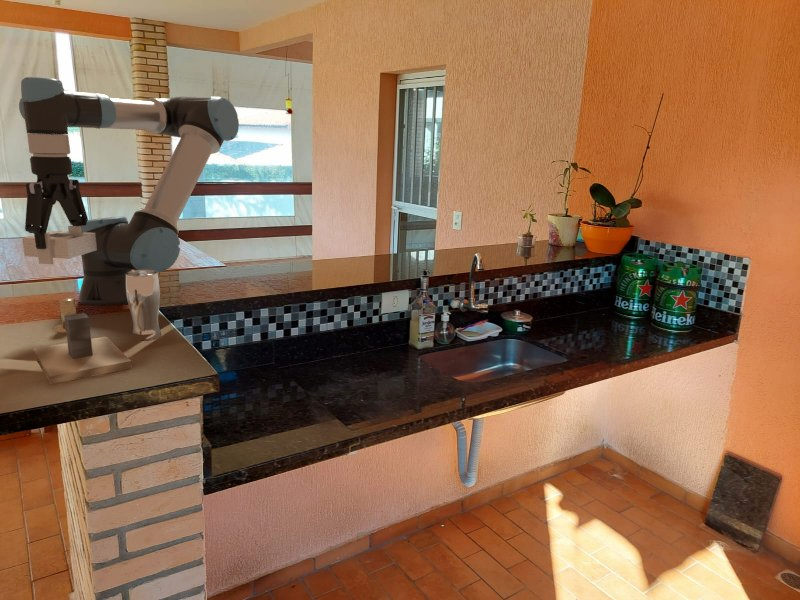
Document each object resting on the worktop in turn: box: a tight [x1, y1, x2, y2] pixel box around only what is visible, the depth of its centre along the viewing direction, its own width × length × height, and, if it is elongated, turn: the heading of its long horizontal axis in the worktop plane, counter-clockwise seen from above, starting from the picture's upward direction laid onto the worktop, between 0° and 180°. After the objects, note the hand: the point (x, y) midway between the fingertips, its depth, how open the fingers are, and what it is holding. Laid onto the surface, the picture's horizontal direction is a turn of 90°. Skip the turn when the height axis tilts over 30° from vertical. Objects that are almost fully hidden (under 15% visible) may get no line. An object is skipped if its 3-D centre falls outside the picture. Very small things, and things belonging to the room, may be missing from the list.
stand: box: [52, 297, 77, 333], centre depth 134 cm, size 7×7×8 cm
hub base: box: [32, 312, 132, 385], centre depth 117 cm, size 14×18×10 cm
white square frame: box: [21, 230, 97, 260], centre depth 129 cm, size 10×10×4 cm
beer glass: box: [126, 270, 162, 342], centre depth 133 cm, size 7×7×15 cm
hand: (62, 258), depth 130 cm, fingers closed on white square frame, 10 cm apart
